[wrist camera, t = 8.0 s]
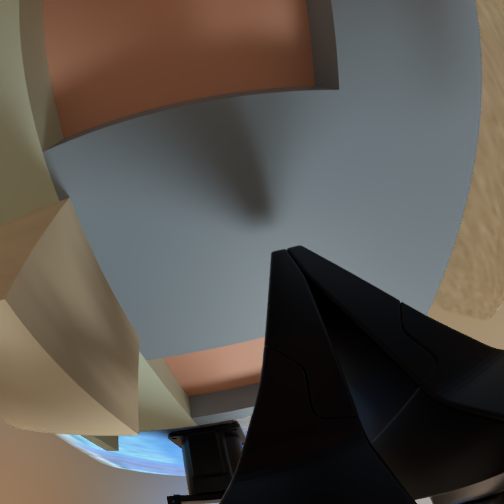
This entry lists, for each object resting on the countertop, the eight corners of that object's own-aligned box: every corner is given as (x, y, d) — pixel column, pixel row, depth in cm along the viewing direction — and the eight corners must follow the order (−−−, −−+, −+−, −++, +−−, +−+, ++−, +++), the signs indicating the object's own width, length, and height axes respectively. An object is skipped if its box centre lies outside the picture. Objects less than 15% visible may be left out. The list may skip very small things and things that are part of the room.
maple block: (139, 338, 10) (139, 434, 7) (30, 352, 9) (13, 427, 6) (69, 197, 6) (4, 298, 3) (-44, 246, 6) (-94, 323, 3)
